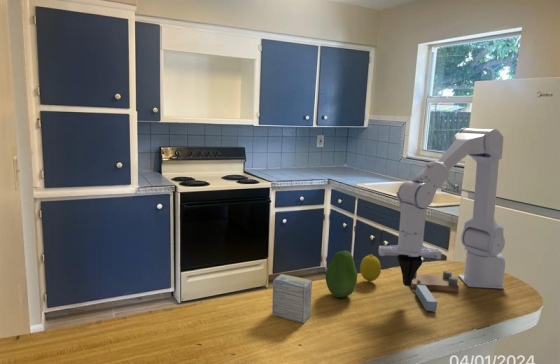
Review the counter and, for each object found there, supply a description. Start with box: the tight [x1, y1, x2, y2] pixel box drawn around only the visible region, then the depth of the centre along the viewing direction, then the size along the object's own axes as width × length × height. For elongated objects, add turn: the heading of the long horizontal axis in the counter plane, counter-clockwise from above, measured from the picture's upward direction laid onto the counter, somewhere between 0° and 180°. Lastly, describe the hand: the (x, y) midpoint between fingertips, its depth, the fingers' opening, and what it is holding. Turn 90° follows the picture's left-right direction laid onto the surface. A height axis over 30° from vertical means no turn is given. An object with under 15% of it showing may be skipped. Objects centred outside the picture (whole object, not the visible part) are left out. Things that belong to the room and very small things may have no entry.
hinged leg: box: [415, 285, 438, 312], centre depth 100 cm, size 11×2×2 cm, turn 176°
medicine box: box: [271, 273, 313, 324], centre depth 91 cm, size 8×4×9 cm, turn 65°
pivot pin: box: [412, 279, 421, 294], centre depth 106 cm, size 3×3×3 cm
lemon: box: [359, 253, 382, 283], centre depth 111 cm, size 6×6×8 cm
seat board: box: [410, 270, 460, 293], centre depth 111 cm, size 12×7×3 cm, turn 86°
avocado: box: [325, 250, 358, 299], centre depth 101 cm, size 8×8×12 cm
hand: (406, 284), depth 99 cm, fingers closed
